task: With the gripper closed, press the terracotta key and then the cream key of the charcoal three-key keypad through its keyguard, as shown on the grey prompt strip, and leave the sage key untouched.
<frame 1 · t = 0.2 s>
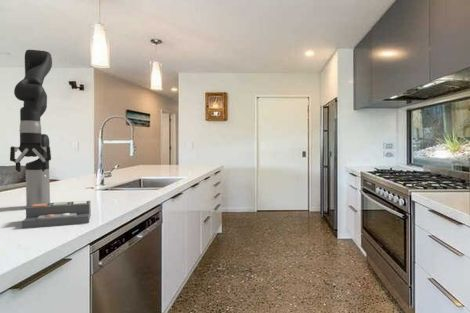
hand: (31, 171, 133), 17 cm above the countertop, fingers open, 8 cm apart
key cream: (79, 205, 124), point 5 cm above the countertop, slide at 0.0 cm
key sage: (60, 206, 122), point 5 cm above the countertop, slide at 0.0 cm
keypad: (59, 221, 120), on the countertop
key terracotta: (39, 207, 119), point 5 cm above the countertop, slide at 0.0 cm
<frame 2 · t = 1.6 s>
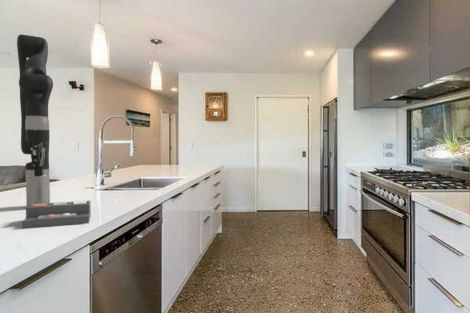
hand: (38, 175, 119), 17 cm above the countertop, fingers closed
nothing on the countertop moved.
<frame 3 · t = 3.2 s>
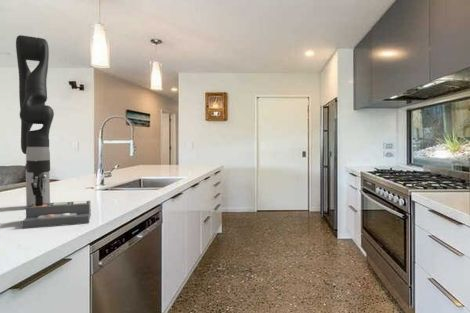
hand: (39, 205, 119), 6 cm above the countertop, fingers closed
key terracotta: (39, 208, 119), point 5 cm above the countertop, slide at 0.3 cm, touching gripper
everything else where it was.
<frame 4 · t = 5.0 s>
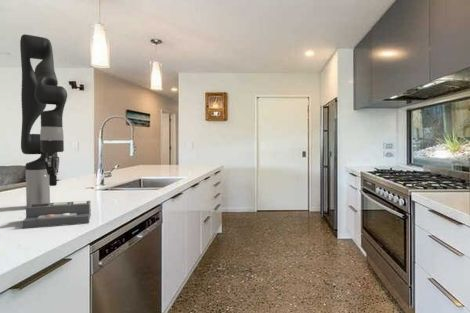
hand: (53, 185, 120), 13 cm above the countertop, fingers closed
key terracotta: (39, 211, 119), point 4 cm above the countertop, slide at 1.5 cm
everything else where it was.
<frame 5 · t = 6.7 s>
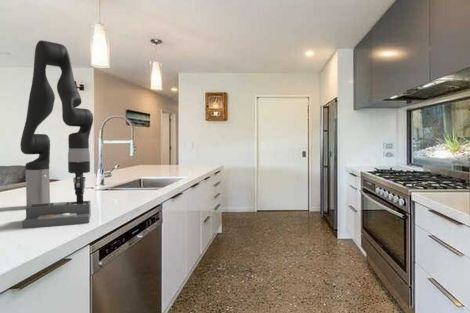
hand: (80, 205, 124), 5 cm above the countertop, fingers closed
key cream: (80, 207, 124), point 4 cm above the countertop, slide at 1.0 cm, touching gripper
everything else where it was.
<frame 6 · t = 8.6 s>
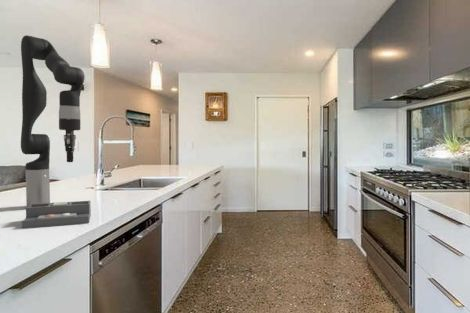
hand: (70, 162, 127), 22 cm above the countertop, fingers closed
key cream: (80, 208, 124), point 4 cm above the countertop, slide at 1.5 cm
everything else where it was.
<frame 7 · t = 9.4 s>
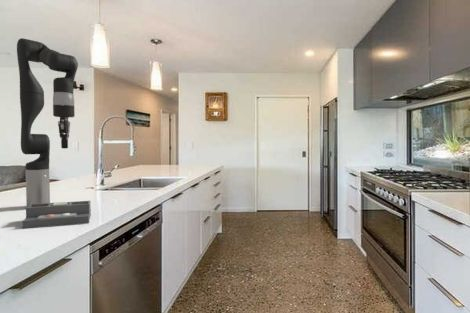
hand: (64, 148, 129), 27 cm above the countertop, fingers closed
nothing on the countertop moved.
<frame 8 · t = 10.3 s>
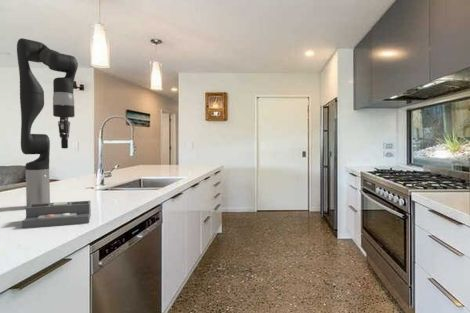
hand: (64, 148, 129), 27 cm above the countertop, fingers closed
nothing on the countertop moved.
at the end: key terracotta slide at 1.5 cm; key cream slide at 1.5 cm; key sage slide at 0.0 cm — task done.
